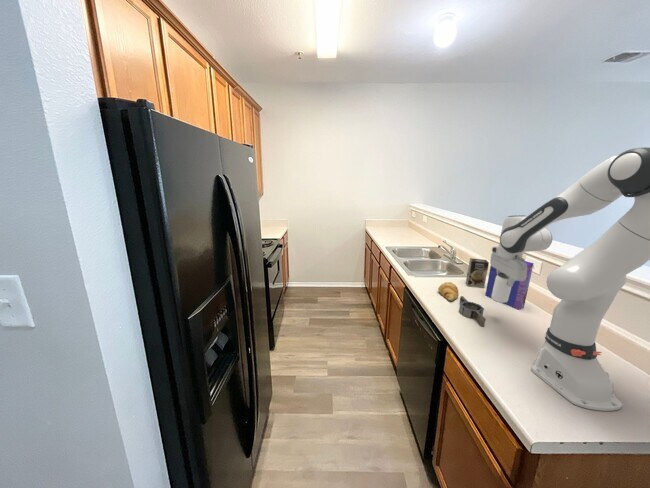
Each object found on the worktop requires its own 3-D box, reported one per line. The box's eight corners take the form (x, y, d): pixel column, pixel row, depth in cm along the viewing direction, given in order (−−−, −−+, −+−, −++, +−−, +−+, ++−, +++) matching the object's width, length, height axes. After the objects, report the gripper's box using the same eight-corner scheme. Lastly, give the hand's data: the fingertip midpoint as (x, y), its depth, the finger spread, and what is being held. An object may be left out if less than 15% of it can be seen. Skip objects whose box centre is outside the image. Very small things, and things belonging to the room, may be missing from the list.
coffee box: (467, 286, 162) (471, 260, 158) (465, 282, 168) (469, 257, 164) (484, 288, 160) (489, 262, 156) (481, 284, 166) (486, 259, 161)
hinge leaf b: (485, 319, 125) (487, 311, 124) (464, 318, 126) (466, 310, 125) (469, 303, 140) (471, 296, 139) (451, 302, 141) (452, 295, 140)
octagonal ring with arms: (493, 327, 119) (495, 319, 118) (471, 326, 119) (473, 318, 118) (475, 309, 134) (477, 302, 133) (456, 308, 135) (457, 301, 134)
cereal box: (523, 308, 137) (533, 262, 131) (517, 309, 135) (527, 264, 129) (491, 294, 152) (498, 253, 146) (485, 295, 150) (492, 254, 144)
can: (492, 301, 121) (498, 277, 116) (489, 294, 126) (495, 271, 122) (509, 304, 119) (515, 280, 114) (505, 296, 124) (511, 273, 120)
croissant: (455, 309, 141) (465, 298, 139) (438, 299, 142) (448, 287, 139) (449, 292, 161) (457, 282, 158) (434, 283, 162) (442, 272, 159)
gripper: (534, 260, 105) (527, 293, 109) (503, 246, 125) (498, 275, 128) (518, 259, 106) (511, 292, 109) (489, 246, 125) (485, 274, 129)
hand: (504, 282), depth 119 cm, fingers closed on can, 6 cm apart
